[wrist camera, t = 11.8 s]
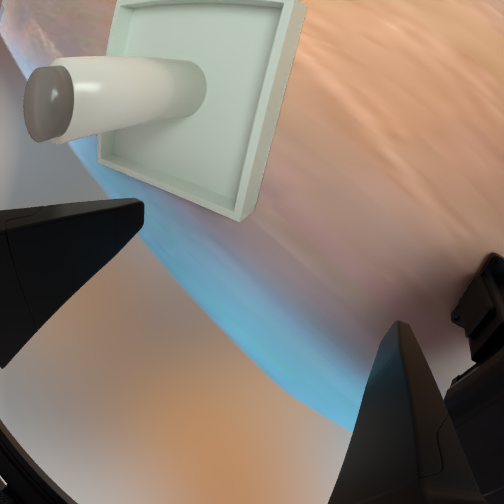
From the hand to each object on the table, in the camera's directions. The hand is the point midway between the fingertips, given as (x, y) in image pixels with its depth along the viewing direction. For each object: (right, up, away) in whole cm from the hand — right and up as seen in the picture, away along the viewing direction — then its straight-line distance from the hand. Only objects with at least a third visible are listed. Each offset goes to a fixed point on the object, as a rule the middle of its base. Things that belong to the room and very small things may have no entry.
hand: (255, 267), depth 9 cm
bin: (-5, +13, +12) cm, 19 cm away
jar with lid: (-6, +13, +11) cm, 18 cm away
